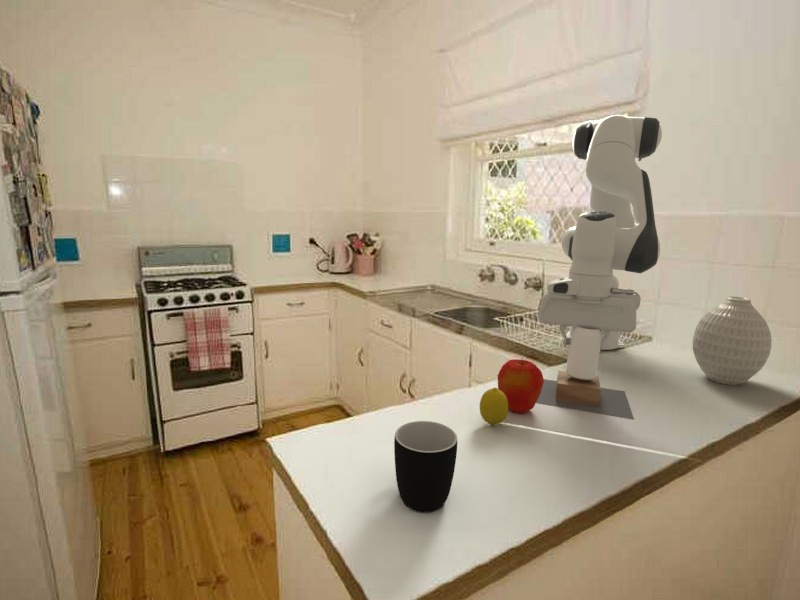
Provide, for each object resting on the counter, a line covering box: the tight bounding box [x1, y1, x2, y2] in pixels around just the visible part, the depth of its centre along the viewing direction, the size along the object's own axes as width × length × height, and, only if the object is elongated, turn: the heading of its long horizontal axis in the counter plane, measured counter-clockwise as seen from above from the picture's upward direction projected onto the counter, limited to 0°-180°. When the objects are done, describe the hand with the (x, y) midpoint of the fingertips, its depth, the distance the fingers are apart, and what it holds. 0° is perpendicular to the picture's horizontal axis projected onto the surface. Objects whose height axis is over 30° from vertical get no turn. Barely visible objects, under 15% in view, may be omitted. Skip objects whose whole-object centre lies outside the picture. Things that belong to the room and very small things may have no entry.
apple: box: [497, 357, 545, 414], centre depth 92 cm, size 9×9×12 cm
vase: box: [692, 295, 773, 386], centre depth 113 cm, size 16×16×22 cm
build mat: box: [536, 378, 635, 420], centre depth 101 cm, size 16×22×1 cm
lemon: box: [479, 387, 509, 427], centre depth 86 cm, size 6×6×8 cm
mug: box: [393, 420, 458, 513], centre depth 64 cm, size 12×9×10 cm
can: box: [565, 326, 602, 380], centre depth 99 cm, size 6×6×12 cm
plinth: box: [556, 370, 602, 407], centre depth 101 cm, size 9×9×4 cm
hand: (582, 346), depth 99 cm, fingers closed on can, 5 cm apart
